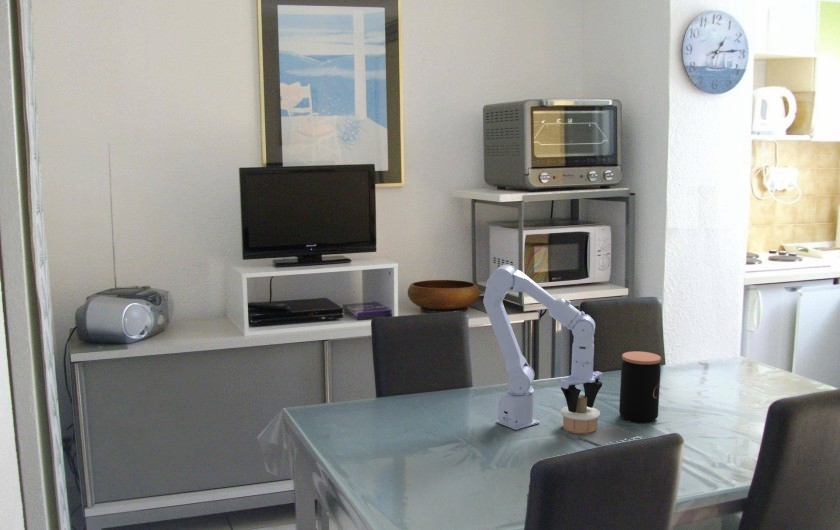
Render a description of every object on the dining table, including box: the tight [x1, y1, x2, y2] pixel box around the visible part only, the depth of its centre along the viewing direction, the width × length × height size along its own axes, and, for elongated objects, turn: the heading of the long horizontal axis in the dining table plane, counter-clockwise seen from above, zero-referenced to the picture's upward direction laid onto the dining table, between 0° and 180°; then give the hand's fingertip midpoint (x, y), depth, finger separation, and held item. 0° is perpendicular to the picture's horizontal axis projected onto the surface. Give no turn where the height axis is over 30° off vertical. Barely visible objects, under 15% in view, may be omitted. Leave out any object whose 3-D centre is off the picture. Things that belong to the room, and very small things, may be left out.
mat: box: [578, 425, 645, 447], centre depth 224 cm, size 14×11×1 cm
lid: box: [560, 394, 601, 421], centre depth 231 cm, size 10×10×5 cm
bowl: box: [562, 415, 599, 435], centre depth 231 cm, size 9×9×4 cm
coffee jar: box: [618, 350, 662, 424], centre depth 239 cm, size 11×11×18 cm
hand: (580, 409), depth 231 cm, fingers open, 6 cm apart
